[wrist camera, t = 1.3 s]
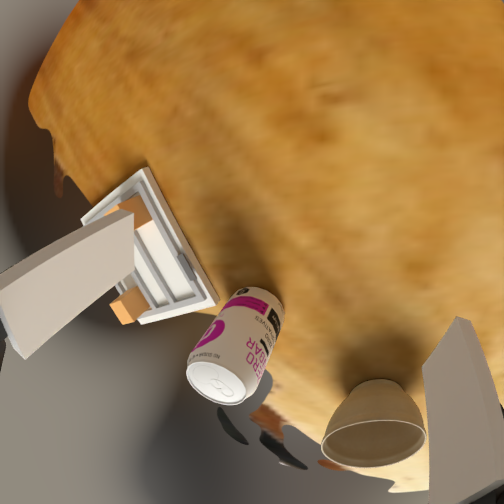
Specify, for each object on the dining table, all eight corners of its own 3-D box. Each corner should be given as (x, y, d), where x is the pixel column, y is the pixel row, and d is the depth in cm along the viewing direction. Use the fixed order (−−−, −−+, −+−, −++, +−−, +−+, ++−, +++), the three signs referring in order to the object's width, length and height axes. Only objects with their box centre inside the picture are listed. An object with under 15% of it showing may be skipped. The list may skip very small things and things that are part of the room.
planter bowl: (354, 428, 47) (347, 474, 37) (314, 382, 44) (301, 435, 35) (431, 403, 39) (435, 452, 29) (404, 349, 37) (410, 406, 27)
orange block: (126, 204, 40) (103, 214, 35) (140, 194, 38) (117, 204, 34) (138, 228, 41) (116, 240, 36) (153, 219, 39) (131, 231, 35)
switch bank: (85, 216, 46) (76, 221, 44) (149, 165, 38) (138, 169, 36) (144, 320, 51) (137, 327, 49) (221, 299, 43) (214, 308, 41)
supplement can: (220, 304, 43) (170, 373, 30) (254, 273, 39) (206, 345, 26) (260, 339, 44) (223, 414, 31) (297, 312, 40) (268, 395, 27)
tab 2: (127, 289, 47) (109, 304, 43) (138, 285, 45) (120, 300, 41) (139, 309, 48) (122, 324, 44) (150, 305, 46) (134, 321, 42)
